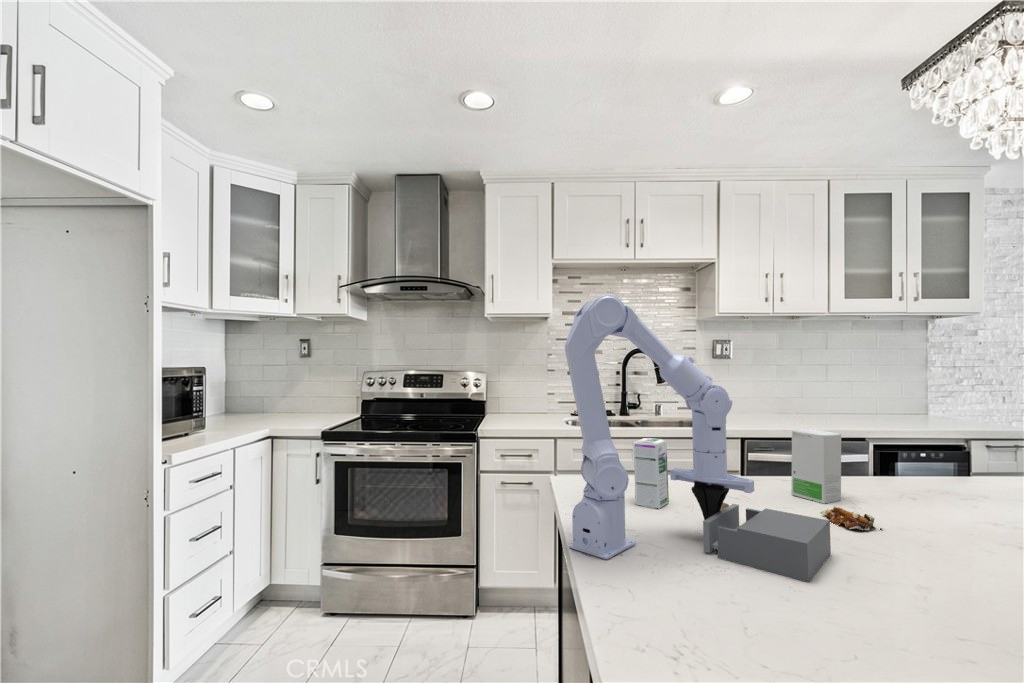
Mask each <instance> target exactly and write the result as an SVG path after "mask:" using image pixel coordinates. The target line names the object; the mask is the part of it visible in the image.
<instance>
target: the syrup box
mask: <svg viewBox="0 0 1024 683" xmlns="http://www.w3.org/2000/svg"><path fill="white" fill-rule="evenodd" d="M667 445H668V444H667V440H666V439H664V438H663V439H662V438H656V437H655V438H654V437H652V438H650V437H646V438H644V437H643V438H641V439H639V440H635V441H633V464H634V465H633V466H634V469H633V470H634V494H635V495H634V496H635V505H636V506H639V505H641V506H640V507H643V506H646V507H645V508H649V507H652V508H651V509H655V508H658V510H661V508H663V507H665V506H666V505H667V503H668V504H669V502H670V500H669V475H668V474H669V473H668V452H667V451H668V450H667V449H668V447H667Z"/></svg>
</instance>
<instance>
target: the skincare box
mask: <svg viewBox="0 0 1024 683" xmlns="http://www.w3.org/2000/svg"><path fill="white" fill-rule="evenodd" d="M791 495H792V496H794V497H795V496H796V497H798V498H803V499H806V500H808V501H809V500H810V501H812V500H813V501H812V502H816V503H819V502H820V503H819V504H822V503H824V504H823V505H825V503H827V504H831V503H835V501H836V502H840V501H839V500H841V501H842V434H841V433H837V432H831V431H826V430H821V429H814V428H801V429H800V428H799V429H791ZM830 502H831V503H830Z"/></svg>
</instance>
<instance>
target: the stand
mask: <svg viewBox="0 0 1024 683" xmlns="http://www.w3.org/2000/svg"><path fill="white" fill-rule="evenodd" d="M728 506H730V504H729V503H725V502H723V504H722V506H721V509H720V511H722V510H723V509H725V508H727V507H728Z"/></svg>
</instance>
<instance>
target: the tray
mask: <svg viewBox="0 0 1024 683" xmlns="http://www.w3.org/2000/svg"><path fill="white" fill-rule="evenodd" d="M739 506H740V505H739V504H737V503H732V504H731V505H730V504H729V506H728V507H727V508H725V509H723V510H722V511H720V512H718V513H716V514H715V515H713V516H711V517H709V518H708V519H706V520H704V519H703V520H702V523H703V524H702V527H703V528H702V529H703V530H702V531H703V552H706V553H709V554H710V553H712V552H713V551H714V550H718V536H717V527H718V526H721V527H726V528H730V529H735V530H737V528H738V527H739V526H740V507H739Z"/></svg>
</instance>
